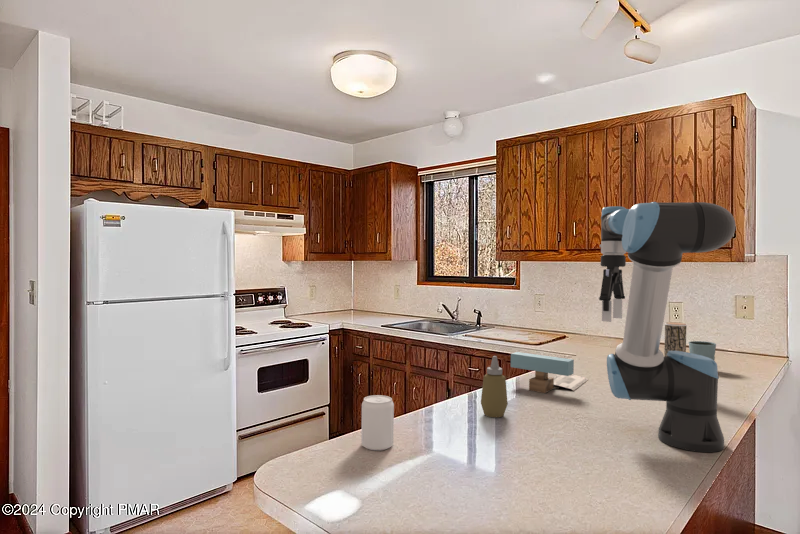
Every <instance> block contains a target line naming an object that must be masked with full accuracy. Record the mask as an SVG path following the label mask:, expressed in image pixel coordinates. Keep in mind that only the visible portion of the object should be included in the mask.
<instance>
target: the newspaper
mask: <svg viewBox="0 0 800 534" xmlns="http://www.w3.org/2000/svg"><path fill="white" fill-rule="evenodd" d="M553 378H554V389H553V390H555V389H556V390H557V389H558V390H559V388H560V387H561V388H565V389H568V390H571V391H572V392H575V391H577V390H578V389H579V388H580V387H581V386H583V385H584V384H585V383H586V382H588V381H589V378H587V377H583V376H580V375H576V374H572V375H569V376H565V375H558V374H555V376H554V377H553ZM559 386H560V387H559Z"/></svg>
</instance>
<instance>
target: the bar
mask: <svg viewBox="0 0 800 534" xmlns="http://www.w3.org/2000/svg"><path fill="white" fill-rule="evenodd" d="M574 361H575V360H574V359H572V358H564V357H559V356H551V355H549V356H548V355H542V354H537V353H536V354H535V353H534V354H533V353H527V352H520V351H515V352H513V353H512V352H511V353H510V368H515V369H521V370H528V371H533V372H535V371H539V372H546V373H548V374H553V375H565V376H569V375H574V367H575V365H574V364H575V363H574Z"/></svg>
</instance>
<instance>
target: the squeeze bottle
mask: <svg viewBox="0 0 800 534" xmlns="http://www.w3.org/2000/svg"><path fill="white" fill-rule="evenodd" d="M506 381H507V380H506V376H505V375H503V368H502V367H500V366H499V360H498V355H493V356H492V358H491V362H490V366H487V368H486V374H484V375H483V379H482V390H481V398H480V405H481V408H482V411H483V415H484V416H486V417H489V418H502V417H504V416H505V413H506V409H507V407H508V393H507V382H506Z"/></svg>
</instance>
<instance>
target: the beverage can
mask: <svg viewBox="0 0 800 534" xmlns="http://www.w3.org/2000/svg"><path fill="white" fill-rule="evenodd" d="M394 411H395V404H394V401H393V398H392V397H390V396H387V395H385V394H384V395H381V394H377V395H376V394H373V395H368V396H365V397H363V401H362V403H361V441H360V442H361V446H362V447H364V448H366V449H367V450H370V451H384V450H387V449H389V448H391V447H392V446H393V445H394V435H395V434H394V429H395V428H394V427H395V426H394V423H395V421H394V420H395V419H394V418H395V416H394V415H395V412H394Z"/></svg>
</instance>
